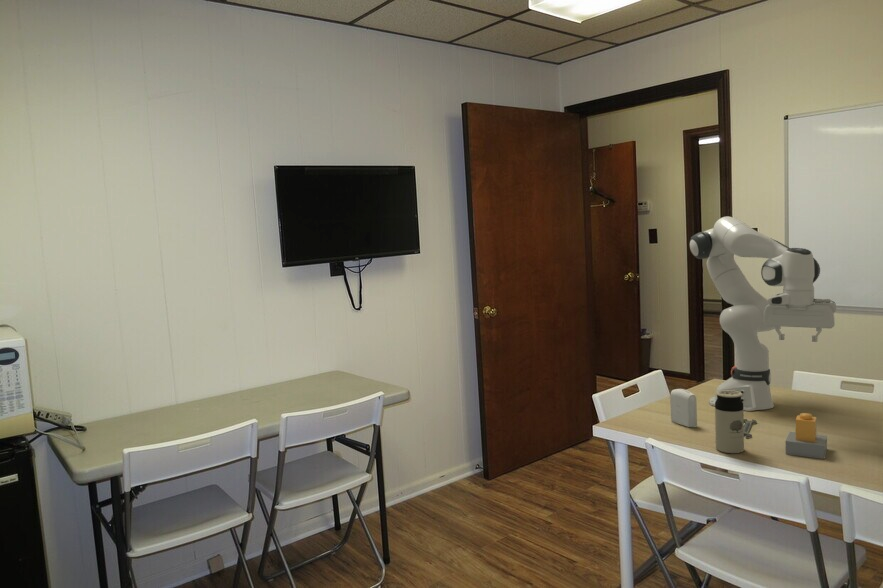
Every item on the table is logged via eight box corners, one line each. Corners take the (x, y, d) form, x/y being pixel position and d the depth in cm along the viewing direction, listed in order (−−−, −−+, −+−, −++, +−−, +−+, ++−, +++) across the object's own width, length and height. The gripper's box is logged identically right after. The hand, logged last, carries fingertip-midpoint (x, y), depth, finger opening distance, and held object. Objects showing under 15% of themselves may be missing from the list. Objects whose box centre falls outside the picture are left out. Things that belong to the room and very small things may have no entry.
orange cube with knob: (795, 439, 192) (795, 415, 191) (797, 434, 196) (797, 411, 195) (814, 441, 189) (814, 417, 188) (816, 437, 193) (816, 413, 193)
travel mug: (712, 445, 202) (711, 390, 201) (738, 445, 201) (737, 389, 200) (720, 454, 194) (719, 396, 193) (747, 453, 193) (747, 395, 192)
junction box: (785, 453, 192) (785, 426, 191) (789, 444, 200) (789, 417, 199) (824, 459, 186) (824, 430, 185) (826, 448, 194) (826, 421, 193)
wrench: (751, 440, 206) (757, 423, 223) (751, 435, 206) (757, 418, 223) (735, 439, 209) (742, 423, 226) (734, 434, 209) (741, 418, 226)
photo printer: (669, 421, 230) (668, 387, 229) (678, 419, 231) (677, 385, 230) (689, 428, 220) (688, 393, 219) (699, 426, 222) (698, 391, 221)
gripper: (836, 298, 203) (836, 340, 205) (765, 296, 215) (765, 337, 216) (835, 300, 198) (834, 344, 199) (762, 298, 210) (762, 340, 211)
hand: (798, 340), depth 208 cm, fingers open, 8 cm apart
